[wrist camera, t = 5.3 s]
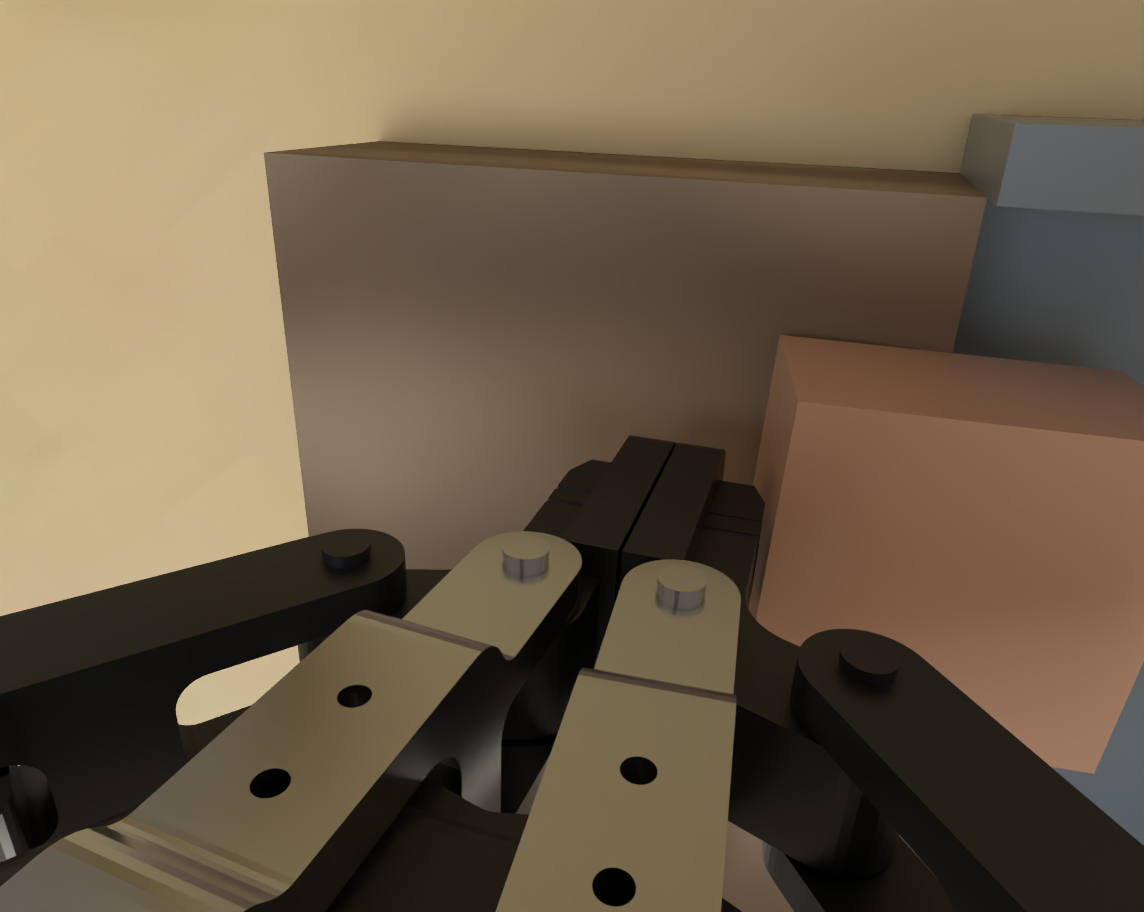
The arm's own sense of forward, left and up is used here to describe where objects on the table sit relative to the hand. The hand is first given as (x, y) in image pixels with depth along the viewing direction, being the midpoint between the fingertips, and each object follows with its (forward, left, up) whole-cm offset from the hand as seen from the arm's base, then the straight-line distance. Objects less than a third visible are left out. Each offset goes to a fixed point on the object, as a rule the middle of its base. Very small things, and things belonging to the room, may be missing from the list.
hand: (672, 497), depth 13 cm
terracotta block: (0, +4, -2) cm, 4 cm away
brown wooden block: (+3, -2, -6) cm, 7 cm away
